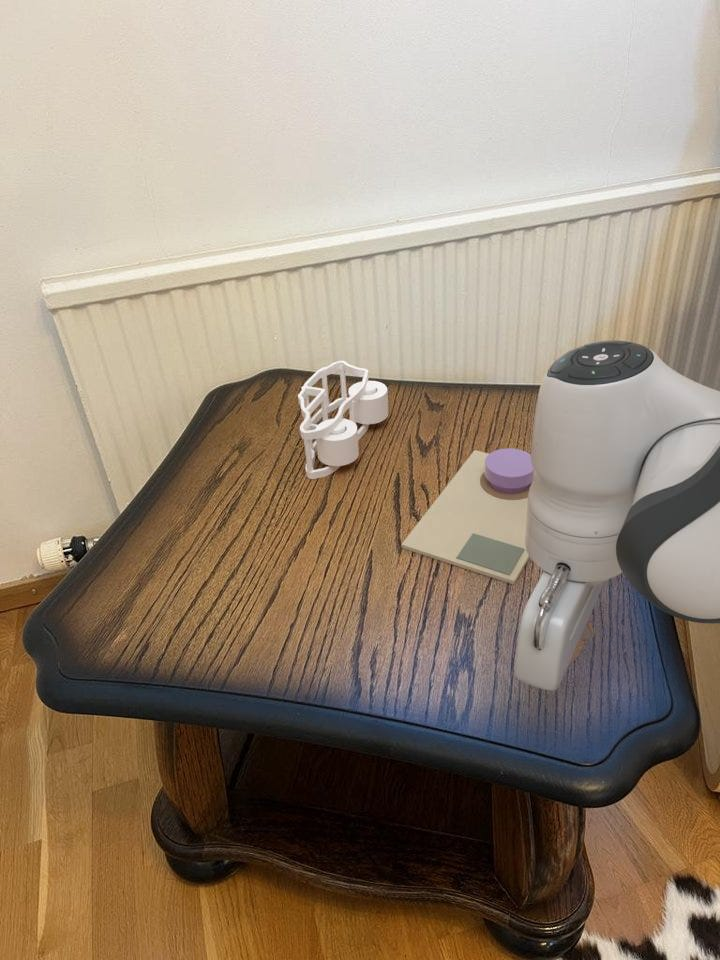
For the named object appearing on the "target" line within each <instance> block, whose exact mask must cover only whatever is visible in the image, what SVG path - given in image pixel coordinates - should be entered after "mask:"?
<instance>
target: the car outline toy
mask: <svg viewBox="0 0 720 960" xmlns="http://www.w3.org/2000/svg"><path fill="white" fill-rule="evenodd" d="M336 371H339V379H340V381H339V383H340V394H341V397H339V398H337V399H335V400H334V401H333V402H330V398H329V397H330V396H329V395H330V394H329V387H328V376H330V375H331V374H333V373H334V372H336ZM346 373H348V374H351V375H353V376H356V377H362V380H361V381H358V382H356V383H353V384H352V385H350V386H349V388H348V392H347V379H346ZM369 378H370V377H369V370H368V369H367V368H364V367H358V366H355V365H352V364H349V363H348V362H347V361H346V360H337V361H335V362H332V363H330V364H329V365H327V366H323V367H320V368H319V369H318V370H317V371H315V373H313V374H312V375H311V376H310V377H309V378H308V379H307V380H306V381H305V382H304V384H303V385H302V386H301V387H300V388H301V390H300V392H299V393H298V394H297V401H298V404H299V406H300V411H301V416H302V417H303V421H302V422H301V424H300V425H299V433H300V438H301V439H302V440H303V444H304V452H305V453H304V454H305V462H306V463H305V467H304V469H305V476H306V477H307V479H309V480H316V479H321V478H325V477H328V476H330V475H332V474H333V473H335V472H336V471H337V470H339V469H340V468H341V467H342V466H347V465H351V464H352V463H354V462H355V461H356V460H357V459H358V458H359V455H360V450H359V449H360V448H359V447H360V446H359V441H360V440H361V438H363V436H364V435H365V434H366V432H367V431H368V430H369V426H370V425H375V424H379V423H381V422H383V421H385V420H386V419H387V418H388V416H389V394H388V392H389V391H388V387H387V386H386V384H385V383H383V382H381V381H377V380H369ZM320 380H321V386H322V388H321V387H317V386H316V387H315V386H314V385H316V384H317V382H318V381H320ZM347 393H348V394H347ZM309 396H310V397H314V398H313V400H311V401H310V397H309ZM320 405H321V406H320ZM319 406H320V407H321V408H320V409H319V410H317V412H316V413H315V414H314V415H313V416H312V414H313V413H314V411H315V410H316V409H317V408H318V407H319ZM337 409H338V410H337ZM335 410H337V413H336V414H335V417H334V418H329V414H331V413H332V412H334V411H335ZM347 411H348V413H349V419H347V418H344V414H345V413H346V412H347ZM321 419H322V421H321ZM319 421H321V422H320V423H319V424H317V423H318V422H319ZM357 424H361V426H360V427H359V428H358V425H357ZM313 440H314V442H313ZM316 453H317V458H318V460H319V462H320V463H322V464H323V465H327V466H325V467H322V468H318V469H317V468H316V469H314V466H315V464H316Z"/></svg>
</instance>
